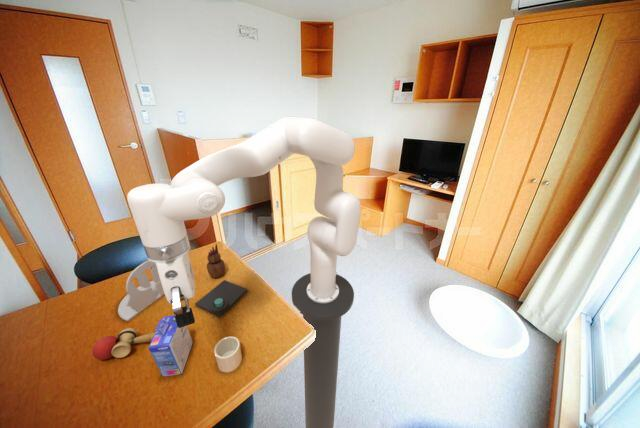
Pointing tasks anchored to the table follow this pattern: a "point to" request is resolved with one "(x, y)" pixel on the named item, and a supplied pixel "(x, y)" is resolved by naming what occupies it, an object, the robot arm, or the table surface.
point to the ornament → (140, 291)
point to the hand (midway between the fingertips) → (186, 308)
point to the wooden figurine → (215, 264)
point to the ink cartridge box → (170, 346)
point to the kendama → (119, 344)
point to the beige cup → (228, 354)
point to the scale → (227, 293)
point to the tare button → (219, 303)
